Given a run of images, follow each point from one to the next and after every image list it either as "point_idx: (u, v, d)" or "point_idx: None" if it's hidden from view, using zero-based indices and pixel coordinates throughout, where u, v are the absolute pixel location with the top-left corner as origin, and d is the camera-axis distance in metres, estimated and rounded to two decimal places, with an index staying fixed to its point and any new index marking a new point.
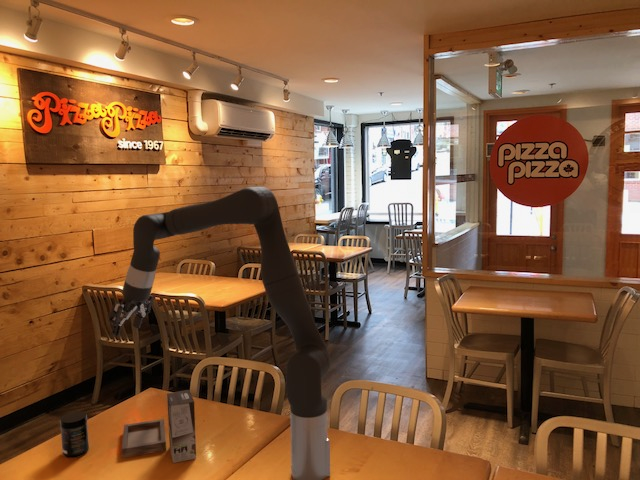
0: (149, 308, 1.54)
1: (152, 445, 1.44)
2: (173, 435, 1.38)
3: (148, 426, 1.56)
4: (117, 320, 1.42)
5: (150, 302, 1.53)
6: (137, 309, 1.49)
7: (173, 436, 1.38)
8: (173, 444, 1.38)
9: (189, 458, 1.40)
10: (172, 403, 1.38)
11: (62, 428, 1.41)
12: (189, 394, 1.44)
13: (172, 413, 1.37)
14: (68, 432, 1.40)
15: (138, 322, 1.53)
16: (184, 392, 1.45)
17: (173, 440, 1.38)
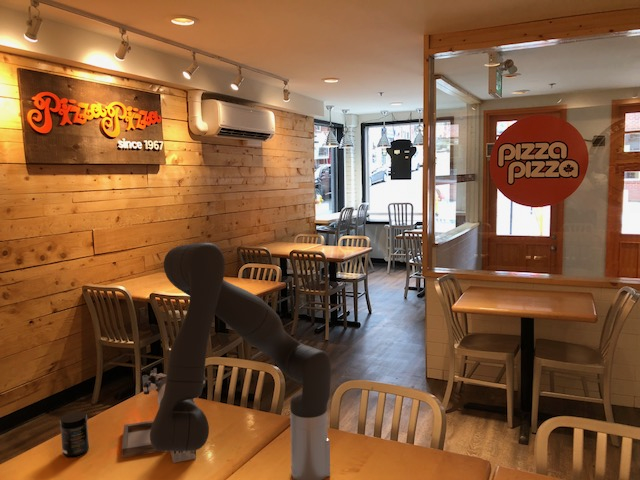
0: (145, 377, 1.22)
1: None
2: None
3: (148, 426, 1.56)
4: None
5: (146, 380, 1.20)
6: None
7: None
8: None
9: (189, 458, 1.40)
10: None
11: (62, 428, 1.41)
12: None
13: None
14: (68, 432, 1.40)
15: (156, 372, 1.26)
16: None
17: None
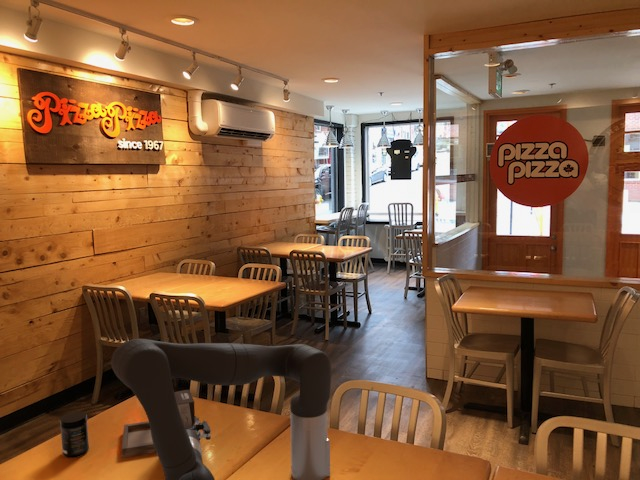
0: None
1: (152, 445, 1.44)
2: None
3: (148, 426, 1.56)
4: (205, 423, 1.40)
5: None
6: None
7: None
8: None
9: None
10: None
11: (62, 428, 1.41)
12: (189, 394, 1.44)
13: None
14: (68, 432, 1.40)
15: None
16: (184, 392, 1.45)
17: None
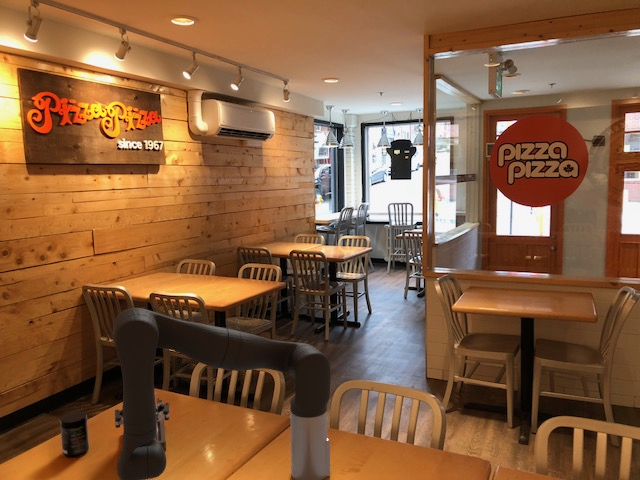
0: (117, 412, 1.42)
1: None
2: None
3: None
4: (167, 405, 1.46)
5: (118, 415, 1.40)
6: None
7: None
8: None
9: None
10: None
11: (62, 428, 1.41)
12: None
13: None
14: (68, 432, 1.40)
15: None
16: None
17: None
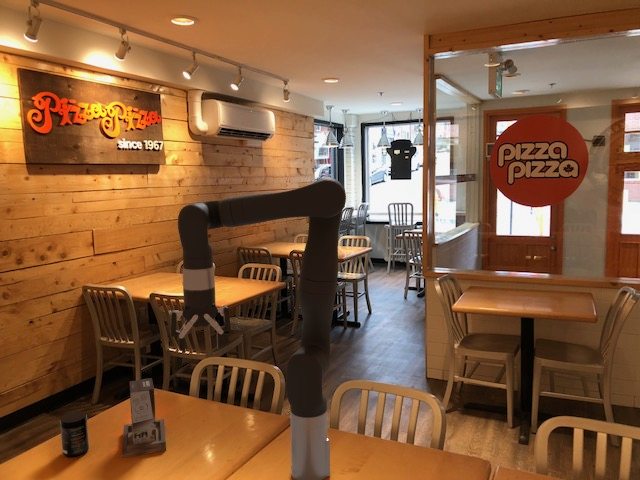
0: (227, 324, 1.29)
1: (152, 445, 1.44)
2: (133, 421, 1.44)
3: None
4: (173, 329, 1.25)
5: (225, 316, 1.29)
6: (205, 321, 1.27)
7: (133, 422, 1.44)
8: (133, 429, 1.44)
9: None
10: (132, 390, 1.44)
11: (62, 428, 1.41)
12: (150, 382, 1.50)
13: (132, 399, 1.43)
14: (68, 432, 1.40)
15: (217, 341, 1.29)
16: (146, 380, 1.51)
17: (133, 425, 1.44)
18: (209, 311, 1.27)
